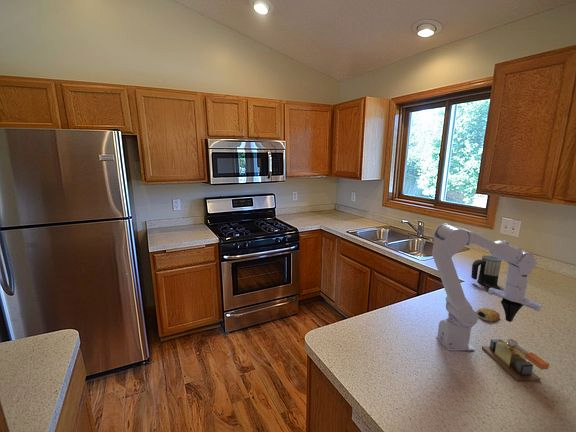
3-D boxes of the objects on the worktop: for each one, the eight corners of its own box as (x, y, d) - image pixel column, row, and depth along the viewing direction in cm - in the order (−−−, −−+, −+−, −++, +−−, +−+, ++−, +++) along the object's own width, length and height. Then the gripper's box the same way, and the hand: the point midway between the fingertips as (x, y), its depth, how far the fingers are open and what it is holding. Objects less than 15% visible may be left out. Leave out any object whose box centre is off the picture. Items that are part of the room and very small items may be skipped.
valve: (518, 376, 84) (521, 360, 83) (486, 348, 97) (489, 334, 96) (534, 376, 85) (537, 360, 84) (500, 348, 97) (503, 334, 96)
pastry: (488, 311, 124) (490, 304, 123) (504, 320, 117) (506, 311, 117) (473, 315, 121) (474, 307, 120) (488, 323, 114) (489, 315, 114)
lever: (504, 343, 91) (505, 338, 91) (511, 343, 91) (512, 338, 91) (540, 369, 79) (541, 364, 79) (548, 369, 80) (549, 364, 79)
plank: (517, 380, 83) (517, 378, 83) (481, 348, 98) (482, 346, 98) (539, 380, 84) (540, 378, 84) (500, 348, 98) (501, 346, 98)
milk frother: (485, 279, 159) (489, 254, 156) (515, 291, 144) (520, 264, 141) (466, 282, 155) (470, 256, 152) (495, 294, 140) (499, 266, 137)
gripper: (547, 290, 92) (539, 327, 94) (496, 274, 104) (491, 308, 106) (539, 294, 88) (531, 333, 91) (487, 278, 100) (482, 313, 103)
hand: (509, 320), depth 98 cm, fingers closed
